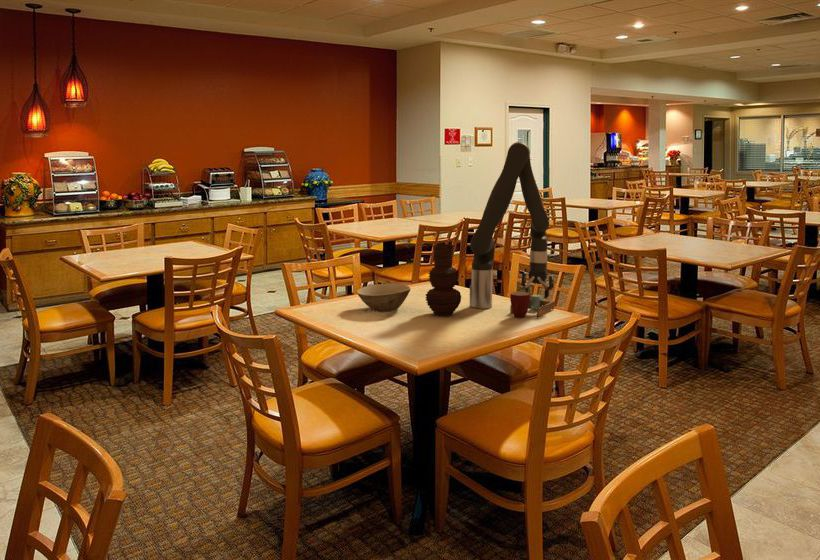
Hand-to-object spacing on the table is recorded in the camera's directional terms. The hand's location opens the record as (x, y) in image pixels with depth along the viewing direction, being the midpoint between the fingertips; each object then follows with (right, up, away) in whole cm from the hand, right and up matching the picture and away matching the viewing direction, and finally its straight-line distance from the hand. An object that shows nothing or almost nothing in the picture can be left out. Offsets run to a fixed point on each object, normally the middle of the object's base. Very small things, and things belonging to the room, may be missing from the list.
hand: (536, 297), depth 303 cm
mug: (-10, -8, -15) cm, 20 cm away
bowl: (-68, -6, +2) cm, 68 cm away
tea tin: (0, -5, +1) cm, 5 cm away
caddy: (-3, -6, -4) cm, 8 cm away
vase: (-42, -7, -8) cm, 43 cm away
